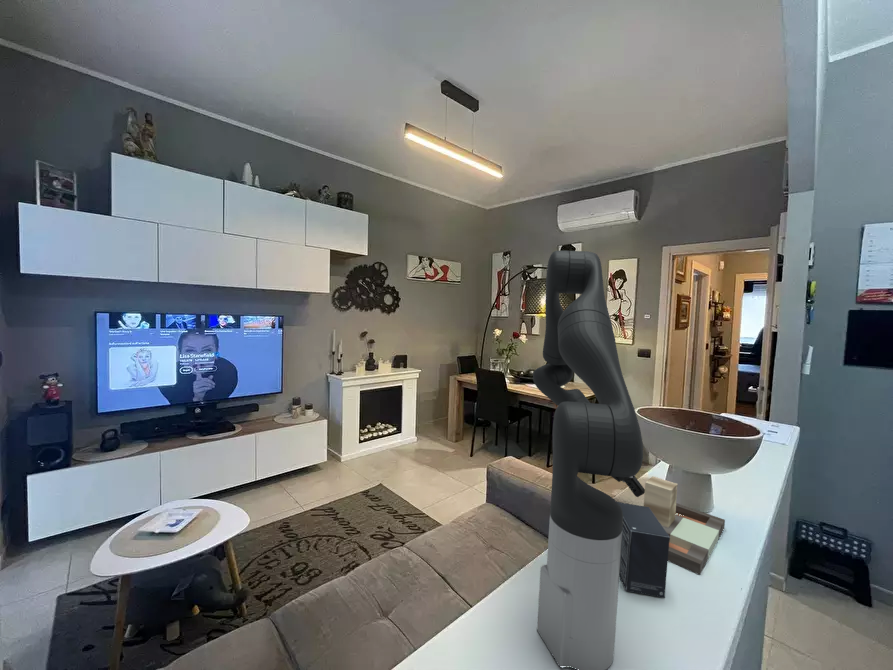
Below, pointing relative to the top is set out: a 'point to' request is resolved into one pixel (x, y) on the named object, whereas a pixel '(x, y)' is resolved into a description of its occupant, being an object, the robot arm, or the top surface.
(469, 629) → the top surface
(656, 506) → the maple block
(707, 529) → the pad
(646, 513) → the small box
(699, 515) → the board
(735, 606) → the top surface
